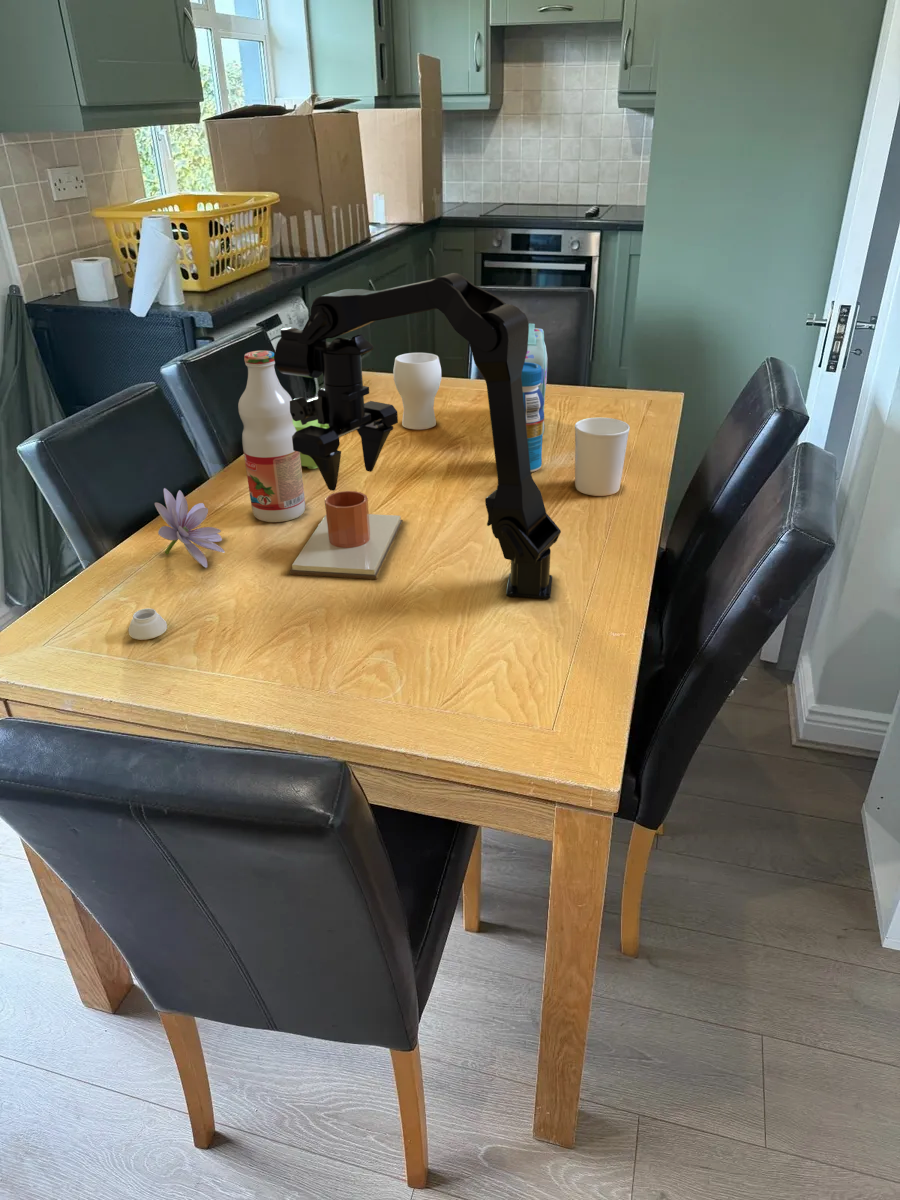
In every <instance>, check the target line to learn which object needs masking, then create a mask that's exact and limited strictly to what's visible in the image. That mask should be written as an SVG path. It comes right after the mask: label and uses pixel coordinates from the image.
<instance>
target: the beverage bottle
mask: <svg viewBox="0 0 900 1200" xmlns="http://www.w3.org/2000/svg"><path fill="white" fill-rule="evenodd" d="M541 378H542V369H541V366H540V365H538V364H535V363H529V362H524V366H523V370H522V375H521V379H522V389H523V400H524V410H525V420H526V430H527V440H528V450H529V460H530V470H531V473H534V472H537V471H539V470H540V469H541V468H542V464H543V463H542V462H543V458H542V457H543V438H544V437H543V436H544V433H543V421H544V422H545V410H544V411H543V409H542V407H543V405H544V406H545V402H544V398H543V395H542V393H541V391H540V389H539V388H538V386H539V385H540V384H541Z"/></svg>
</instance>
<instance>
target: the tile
mask: <svg viewBox="0 0 900 1200" xmlns="http://www.w3.org/2000/svg"><path fill="white" fill-rule="evenodd" d="M369 524H370V540H369V541H368V542H367V543H366V544H364V545H361V546H358V547H353V548H341V547H336V546H334V545H332V544H330V542H329V538H328V530H327V520H326V514H325V515H324V517H323V518H322V519H321V521H320V522H319V524H318V525H317V527H316V529H314V531H313V533H312V534H311V535H310V538H309V539H308V540H307V542H305V545H304V546H303V548H302V549H301V551H300V552H299V554H298V556H297V557H296V558H295V560H294V561H293V562H292V564H291V569H290V571H289V573H290V575H298V576H313V577H314V576H315V577H329V578H331V577H333V578H348V579H363V580H378V577H379V575H380V573H381V571H382V568H383V566H384V564H385V562H386V560H387V558H388V556H389V553H390V552H391V550H392V548H393V545H394V543H395V541H396V539H397V537H398V535H399V533H400V530H401V528H402V525H403V524H404V520H403V519H402V516H401V515H396V514H374V513H369Z"/></svg>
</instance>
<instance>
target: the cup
mask: <svg viewBox="0 0 900 1200" xmlns="http://www.w3.org/2000/svg"><path fill="white" fill-rule="evenodd" d="M392 373H393V374H392V375H393V382H394V385H395V388H396V390H397V392H398V395H399V396H400V398H401V402H402V407H403V408H402V409H403V410H402V411H403V412H402V422H401V425H402V427H404V428H406V429H409V430H427V429H431V428H433V427H435V426H436V425H437V420H436V419H437V418H436V414H435V409H434V407H435V397H436V395H437V394H438V392H439V389H440V385H441V382H442V367H441V361H440V357H439V356H438V355H437V354H434V353H431V352H430V353H429V352H408V353H403V354H399V355H397V356H396V357H395V358H394V365H393V371H392Z"/></svg>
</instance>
